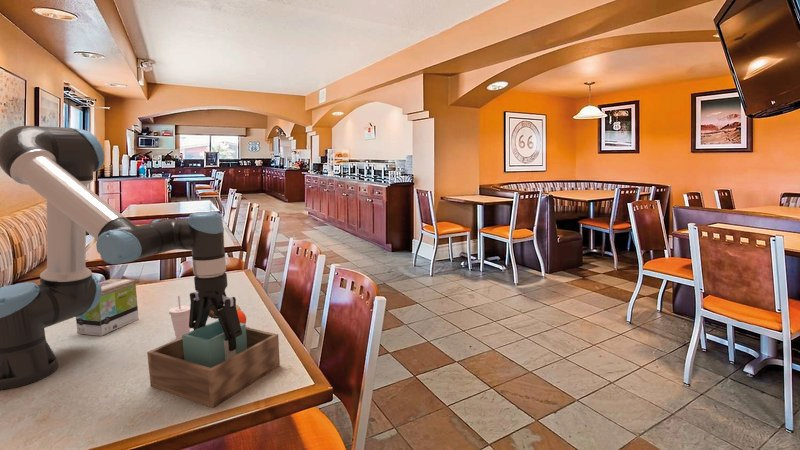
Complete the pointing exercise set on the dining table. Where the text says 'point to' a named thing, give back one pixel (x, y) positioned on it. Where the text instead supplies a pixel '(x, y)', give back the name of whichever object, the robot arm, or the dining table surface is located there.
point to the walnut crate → (213, 369)
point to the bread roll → (220, 309)
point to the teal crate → (210, 344)
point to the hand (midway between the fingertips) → (217, 357)
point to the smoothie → (180, 319)
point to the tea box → (111, 308)
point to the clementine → (241, 317)
